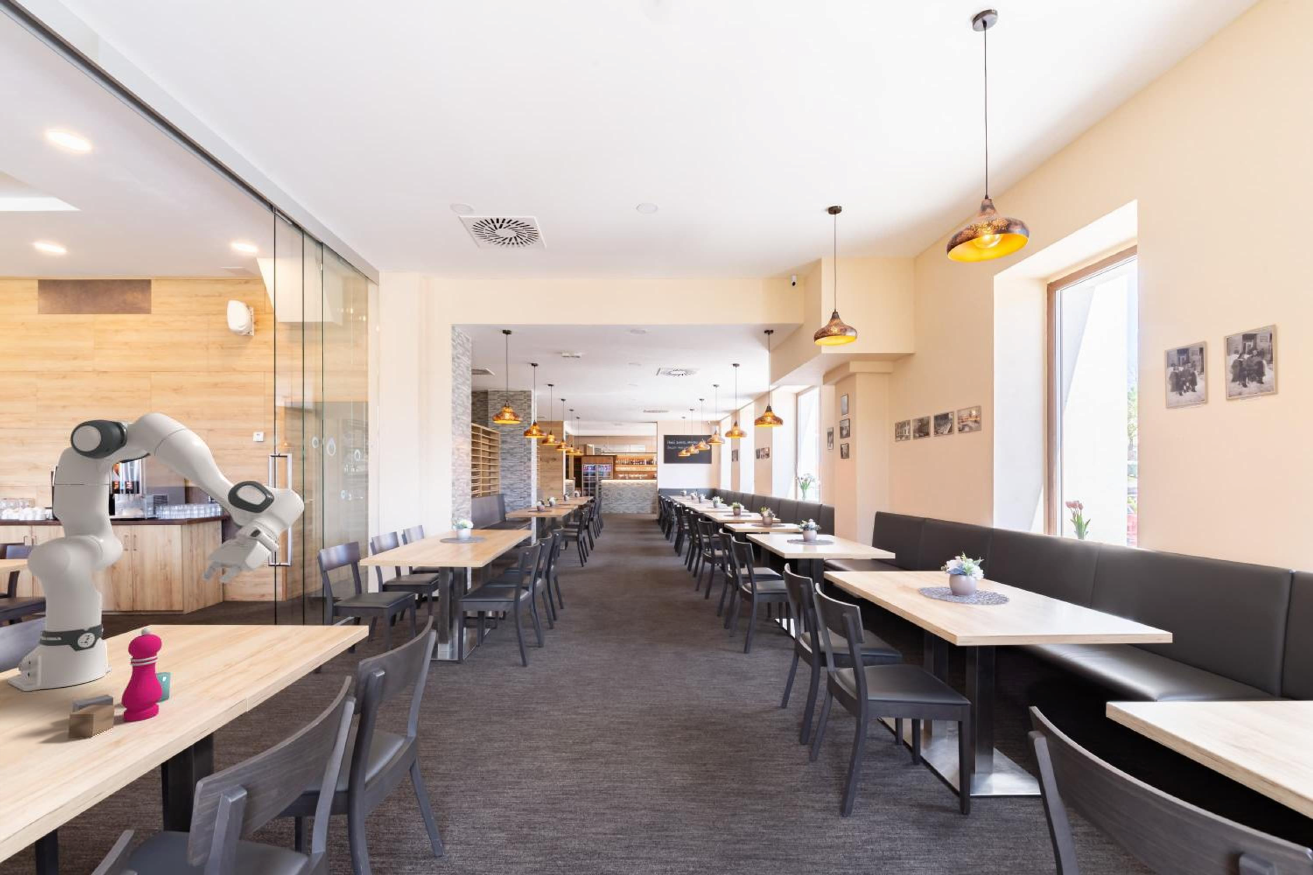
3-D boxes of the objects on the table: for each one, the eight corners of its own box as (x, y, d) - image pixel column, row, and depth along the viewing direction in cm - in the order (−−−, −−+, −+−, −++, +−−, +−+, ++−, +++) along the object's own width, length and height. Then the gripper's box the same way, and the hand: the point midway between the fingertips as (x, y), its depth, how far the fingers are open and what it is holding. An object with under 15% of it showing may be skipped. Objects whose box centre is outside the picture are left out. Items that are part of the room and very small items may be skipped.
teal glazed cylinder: (138, 702, 148) (139, 677, 148) (160, 695, 152) (161, 671, 153) (151, 704, 146) (153, 679, 146) (174, 697, 151) (175, 673, 151)
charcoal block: (71, 720, 137) (73, 702, 137) (106, 711, 142) (107, 694, 142) (77, 724, 135) (78, 705, 135) (112, 715, 140) (113, 697, 140)
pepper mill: (168, 712, 141) (173, 625, 142) (133, 724, 134) (138, 632, 136) (148, 708, 144) (153, 623, 145) (112, 720, 137) (118, 630, 138)
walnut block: (68, 738, 127) (69, 713, 128) (90, 728, 132) (91, 705, 133) (92, 738, 128) (93, 713, 128) (113, 728, 132) (114, 705, 133)
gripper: (227, 530, 170) (184, 570, 161) (265, 533, 159) (222, 575, 150) (244, 544, 173) (203, 584, 164) (282, 548, 163) (241, 590, 154)
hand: (212, 580), depth 157 cm, fingers open, 8 cm apart
